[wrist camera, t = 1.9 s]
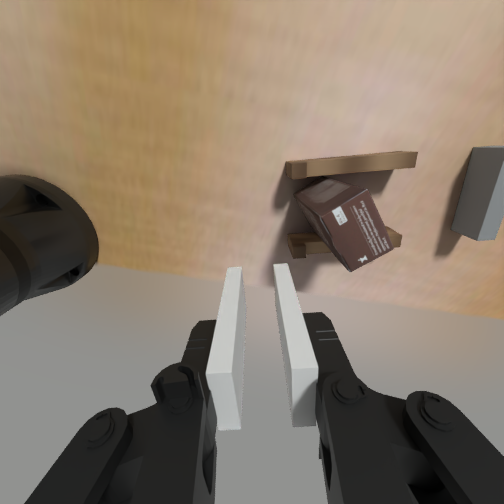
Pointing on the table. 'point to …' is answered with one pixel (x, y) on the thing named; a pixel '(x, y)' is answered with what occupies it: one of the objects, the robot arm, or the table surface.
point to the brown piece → (341, 165)
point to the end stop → (482, 195)
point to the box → (345, 221)
